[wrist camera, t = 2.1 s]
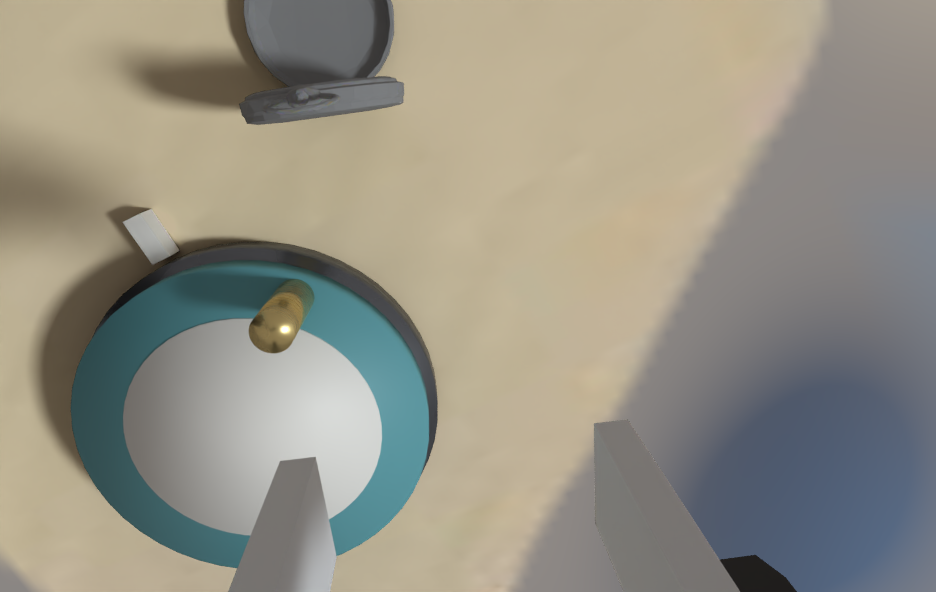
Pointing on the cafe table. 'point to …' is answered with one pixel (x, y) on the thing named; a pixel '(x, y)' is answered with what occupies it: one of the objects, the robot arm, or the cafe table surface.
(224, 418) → the turntable
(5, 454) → the cafe table surface
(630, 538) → the robot arm
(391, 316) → the turntable base
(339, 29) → the pocket watch
